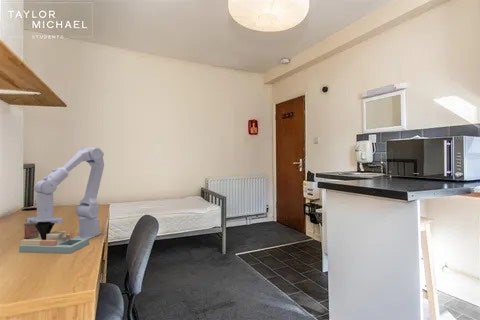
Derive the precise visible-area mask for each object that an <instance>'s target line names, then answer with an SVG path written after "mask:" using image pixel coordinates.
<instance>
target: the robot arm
mask: <svg viewBox="0 0 480 320" xmlns="http://www.w3.org/2000/svg"><path fill="white" fill-rule="evenodd" d="M104 155H105V153H104V151H103V150H102V149H101V148H100V147H98V146H94V147H92V146H91V147H86V146H85V147H82V148H81V149H79V150H78V151H77V152H76V153H75V154H74V156H72V157H71V158H70V159H69V160H68V161H67V162H66V163H65V164H64V165H63V166H62V167H56V168H53V169H52V171H51V172H50V173H49V174H48V175H47V176H44V177H43V179H42V180H41V179H40V180H38V181H37V182H36V183H35V185H34V186H33V190H34V191H35V193H36V216H34V217H32V216H31V217H26V218H27V221H26V223H38V224H36V225H35V227H36V228H37V229H38V231H39V233H40V236H41V239H42V240H46V234H49V233H52V229H53V227H54V225H55V224H58V225H59V224H62V223H64V218H63V217H57V216H56V217H54V192H56V190H57V187H58V185H60V184H61V183H62V182H63V181H64V180H66V179H67V178H68V177H69V173H70V172H71V171H72V170H73V169H75V168H76V167H77V166H78V165H80V164H81V163H83V162H86V163H87V164H89V166H90V171H89V176H88V180H87V184H86V189H85V192H84V197H83V198H82V199H81V200H80V202H79V204H78V206H77V207H76V209H75V213H76V215H77V216H78V235H76V236H74V238H89V240H90V239H92V238H95V237H96V236H99V235H101V234H102V232H101V230H100V229H101V228H100V227H101V221H100V219H99V217H98V215H99V214H100V209H99V206H100V203H99V202H98V199H97V198H98V193H99V189H100V185H101V182H102V176H103V171H104V169H105V167H104V166H105V163H104Z"/></svg>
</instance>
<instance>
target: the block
mask: <svg viewBox="0 0 480 320" xmlns="http://www.w3.org/2000/svg"><path fill="white" fill-rule="evenodd" d="M66 234H67V231H65V230H62V231H61V230H60V231H59V230H56V231H55V230H54V231H51V232H50V233H49V234H46V240H57V244H59V243H62V242H64V241H66Z"/></svg>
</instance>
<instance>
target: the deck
mask: <svg viewBox="0 0 480 320" xmlns="http://www.w3.org/2000/svg"><path fill="white" fill-rule="evenodd" d="M20 241H21V242H20V243H21V244H20V245H18V252H19V253H36V254H37V253H39V254H41V253H43V254H46V253H47V254H73V253H75V252H77V251H78V250H80V249H82V248H84V247H86V246H88V245H90V239H89V238H75V237H72V234H71V233H66V241H64V242H62V243H59V244H57V240H42V239H41V236H40V234H39V238H35V239H24V238H23V239H21V240H20Z"/></svg>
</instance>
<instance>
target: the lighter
mask: <svg viewBox="0 0 480 320" xmlns="http://www.w3.org/2000/svg"><path fill="white" fill-rule="evenodd" d="M27 218H28V217H26V219H25V222H24V223H23V226H24V237H23V239H28V240H35V239H39V234H40V233H39V231H38V229H37V228H36V227H35V225H36V224H38V223H27Z"/></svg>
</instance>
